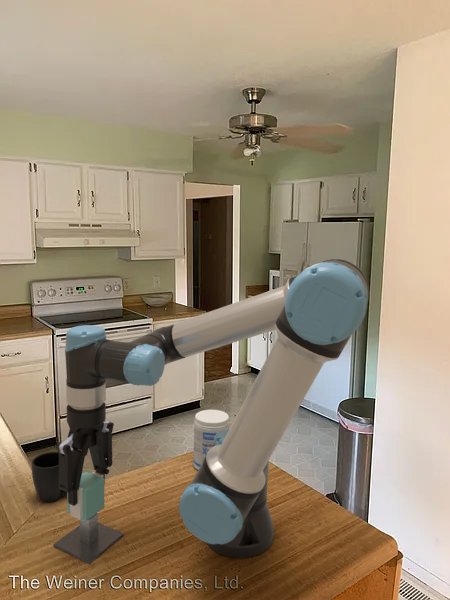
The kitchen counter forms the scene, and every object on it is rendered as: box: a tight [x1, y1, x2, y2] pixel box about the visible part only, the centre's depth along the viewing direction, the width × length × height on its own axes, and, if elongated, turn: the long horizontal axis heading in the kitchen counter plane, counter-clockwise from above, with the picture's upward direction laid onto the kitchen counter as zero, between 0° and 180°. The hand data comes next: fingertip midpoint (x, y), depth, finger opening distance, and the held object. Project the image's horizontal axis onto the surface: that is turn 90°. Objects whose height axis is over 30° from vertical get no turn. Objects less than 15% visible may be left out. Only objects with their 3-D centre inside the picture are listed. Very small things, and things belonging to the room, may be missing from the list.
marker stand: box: [53, 512, 125, 565], centre depth 98 cm, size 10×10×6 cm
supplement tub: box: [192, 409, 230, 471], centre depth 129 cm, size 10×10×15 cm
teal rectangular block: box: [66, 471, 106, 521], centre depth 97 cm, size 5×5×7 cm
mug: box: [31, 451, 83, 503], centre depth 113 cm, size 8×12×10 cm
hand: (87, 509), depth 98 cm, fingers closed on teal rectangular block, 5 cm apart
